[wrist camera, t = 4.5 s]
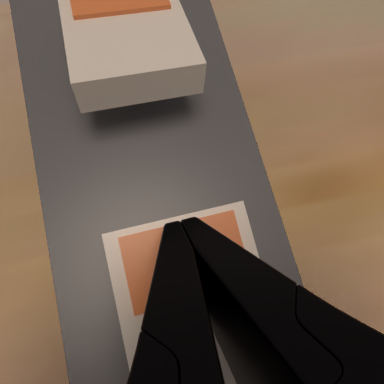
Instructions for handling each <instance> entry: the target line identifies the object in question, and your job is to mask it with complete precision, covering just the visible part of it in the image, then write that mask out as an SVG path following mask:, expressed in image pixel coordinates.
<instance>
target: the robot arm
mask: <svg viewBox="0 0 384 384" xmlns="http://www.w3.org/2000/svg"><path fill="white" fill-rule="evenodd" d="M213 332H214V334H215V336H216V339H217V341H218V343H219V345H220V348H221V350H222V352H223V354H224V356H225V359H226V361H227V363H228V365H229V368H230V370H231V372H232V374H233V376H234V379H235V381H236V383H237V384H384V334H382V333H381V332H379V331H377V330H375V329H373V328H371V327H369V326H368V325H366V324H364V323H362V322H360V321H358V320H357V319H355V318H353V317H351V316H350V315H348V314H346V313H344V312H342V311H341V310H339V309H337V308H335V307H334V306H332V305H331V304H329V303H327V302H326V301H324V300H323V299H321V298H319V297H318V296H316V295H315V294H313V293H311V292H310V291H308V290H307V289H305V288H304V287H302V286H301V285H297V283H296V282H294V281H293V280H291V279H290V278H288V277H287V276H285V275H284V274H282V273H281V272H279V271H278V270H276V269H275V268H273V267H272V266H270V265H269V264H267V263H266V262H264V261H263V260H261V259H260V258H258V257H256V256H255V255H253V254H252V253H250V252H249V251H247V250H246V249H244V248H243V247H241V246H240V245H238V244H237V243H235V242H234V241H232V240H231V239H229V238H228V237H226V236H225V235H223V234H222V233H220V232H218V231H217V230H215V229H214V228H212V227H211V226H209V225H208V224H206V223H205V222H203V221H202V220H200V219H199V218H197V217H190V218H186V219H182V220H181V222H180V221H174V222H169V223H166V224H165V225H164V228H163V232H162V236H161V241H160V245H159V250H158V254H157V259H156V263H155V268H154V272H153V276H152V281H151V285H150V290H149V294H148V299H147V303H146V307H145V312H144V316H143V321H142V325H141V332H140V333H139V338H138V342H137V346H136V350H135V354H134V358H133V362H132V366H131V370H130V373H129V377H128V380H127V383H126V384H225V382H224V377H223V373H222V369H221V364H220V360H219V356H218V351H217V347H216V342H215V338H214V334H213Z"/></svg>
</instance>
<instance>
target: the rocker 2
mask: <svg viewBox="0 0 384 384" xmlns="http://www.w3.org/2000/svg"><path fill="white" fill-rule="evenodd" d="M190 217H197V218H199V219H200V220H202V221H203V222H205V223H206V224H208V225H209V226H211V227H212V228H214V229H215V230H217V231H218V232H220V233H222V234H223V235H225V236H226V237H228V238H229V239H231V240H232V241H234V242H235V243H237V244H238V245H240V246H241V247H243V248H244V249H246V250H247V251H249V252H250V253H252V254H253V255H255V256H256V257H258V258H259V255H258V251H257V248H256V244H255V241H254V237H253V233H252V230H251V226H250V223H249V219H248V216H247V212H246V208H245V205H244V201H239V202H235V203H231V204H227V205H222V206H218V207H214V208H210V209H206V210H201V211H197V212H193V213H189V214H184V215H180V216H176V217H172V218H168V219H163V220H159V221H155V222H151V223H146V224H142V225H138V226H134V227H130V228H125V229H121V230H117V231H113V232H108V233H104V234H102V239H103V244H104V249H105V254H106V259H107V264H108V268H109V273H110V278H111V283H112V288H113V293H114V298H115V303H116V307H117V312H118V317H119V322H120V327H121V332H122V337H123V342H124V347H125V351H126V356H127V361H128V366H129V371H130V370H131V366H132V362H133V358H134V354H135V350H136V346H137V342H138V338H139V333H140V332H141V325H142V321H143V316H144V312H145V307H146V303H147V299H148V294H149V290H150V285H151V281H152V276H153V272H154V268H155V263H156V259H157V254H158V250H159V245H160V241H161V236H162V232H163V228H164V225H165V224H166V223H169V222H174V221H180V222H181V220H182V219H186V218H190ZM213 334H214V332H213ZM214 338H215V342H216V347H217V351H218V356H219V360H220V364H221V369H222V373H223V377H224V382H225V384H237V383H236V381H235V379H234V376H233V374H232V372H231V370H230V368H229V365H228V363H227V361H226V359H225V356H224V354H223V352H222V350H221V348H220V345H219V343H218V341H217V339H216V336H215V334H214Z"/></svg>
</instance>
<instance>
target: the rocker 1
mask: <svg viewBox="0 0 384 384" xmlns="http://www.w3.org/2000/svg"><path fill="white" fill-rule="evenodd" d="M58 5H59V11H60V18H61V24H62V31H63V38H64V44H65V51H66V58H67V64H68V71H69V78H70V84H71V87H72V90H73V92H74V95H75V98H76V101H77V104H78V106H79V109H80V112H81V113H87V112H93V111H99V110H105V109H111V108H117V107H123V106H129V105H135V104H141V103H146V102H152V101H158V100H164V99H170V98H176V97H182V96H188V95H194V94H200V93H203V91H204V82H205V74H206V65H207V63H206V60H205V58H204V56H203V54H202V51H201V49H200V47H199V44H198V42H197V40H196V38H195V35H194V33H193V31H192V28H191V26H190V24H189V22H188V19H187V17H186V15H185V12H184V10H183V8H182V6H181V3H180V1H179V0H58Z"/></svg>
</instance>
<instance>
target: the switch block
mask: <svg viewBox="0 0 384 384" xmlns="http://www.w3.org/2000/svg"><path fill="white" fill-rule="evenodd" d="M179 1H180V3H181V6H182V8H183V10H184V12H185V15H186V17H187V19H188V22H189V24H190V26H191V28H192V31H193V33H194V35H195V38H196V40H197V42H198V44H199V47H200V49H201V51H202V54H203V56H204V58H205V60H206V63H207V65H206V74H205V82H204V91H203V93H200V94H194V95H188V96H182V97H176V98H170V99H164V100H158V101H152V102H146V103H141V104H135V105H129V106H123V107H117V108H111V109H105V110H99V111H93V112H87V113H81V112H80V109H79V106H78V104H77V101H76V98H75V95H74V92H73V90H72V87H71V84H70V78H69V71H68V64H67V58H66V51H65V44H64V38H63V31H62V24H61V18H60V11H59V5H58V0H9V2H10V8H11V14H12V21H13V27H14V33H15V40H16V46H17V53H18V59H19V65H20V72H21V78H22V84H23V91H24V97H25V103H26V110H27V116H28V122H29V129H30V135H31V142H32V148H33V154H34V161H35V167H36V173H37V180H38V186H39V192H40V199H41V205H42V211H43V218H44V224H45V231H46V237H47V243H48V250H49V256H50V262H51V269H52V275H53V281H54V288H55V294H56V300H57V307H58V313H59V320H60V326H61V332H62V339H63V345H64V351H65V358H66V364H67V370H68V377H69V383H70V384H126V383H127V380H128V377H129V373H130V371H129V366H128V361H127V356H126V351H125V347H124V342H123V337H122V332H121V327H120V322H119V317H118V312H117V307H116V303H115V298H114V293H113V288H112V283H111V278H110V273H109V268H108V264H107V259H106V254H105V249H104V244H103V239H102V234H104V233H108V232H113V231H117V230H121V229H125V228H130V227H134V226H138V225H142V224H146V223H151V222H155V221H159V220H163V219H168V218H172V217H176V216H180V215H184V214H189V213H193V212H197V211H201V210H206V209H210V208H214V207H218V206H222V205H227V204H231V203H235V202H239V201H244V205H245V208H246V212H247V216H248V219H249V223H250V226H251V230H252V233H253V237H254V241H255V244H256V248H257V251H258V255H259V258H260V259H261V260H263V261H264V262H266V263H267V264H269V265H270V266H272V267H273V268H275V269H276V270H278V271H279V272H281V273H282V274H284V275H285V276H287V277H288V278H290V279H291V280H293V281H294V282H296V283H297V285H301V286H302V287H303V284H302V281H301V277H300V274H299V271H298V268H297V265H296V262H295V259H294V256H293V253H292V250H291V247H290V244H289V241H288V238H287V235H286V232H285V229H284V225H283V222H282V219H281V216H280V213H279V210H278V207H277V204H276V201H275V198H274V195H273V192H272V189H271V186H270V183H269V180H268V176H267V173H266V170H265V167H264V164H263V161H262V158H261V155H260V152H259V149H258V146H257V143H256V140H255V137H254V134H253V131H252V128H251V124H250V121H249V118H248V115H247V112H246V109H245V106H244V103H243V100H242V97H241V94H240V91H239V88H238V85H237V82H236V79H235V76H234V72H233V69H232V66H231V63H230V60H229V57H228V54H227V51H226V48H225V45H224V42H223V39H222V36H221V33H220V30H219V27H218V23H217V20H216V17H215V14H214V11H213V8H212V5H211V2H210V0H179Z"/></svg>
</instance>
